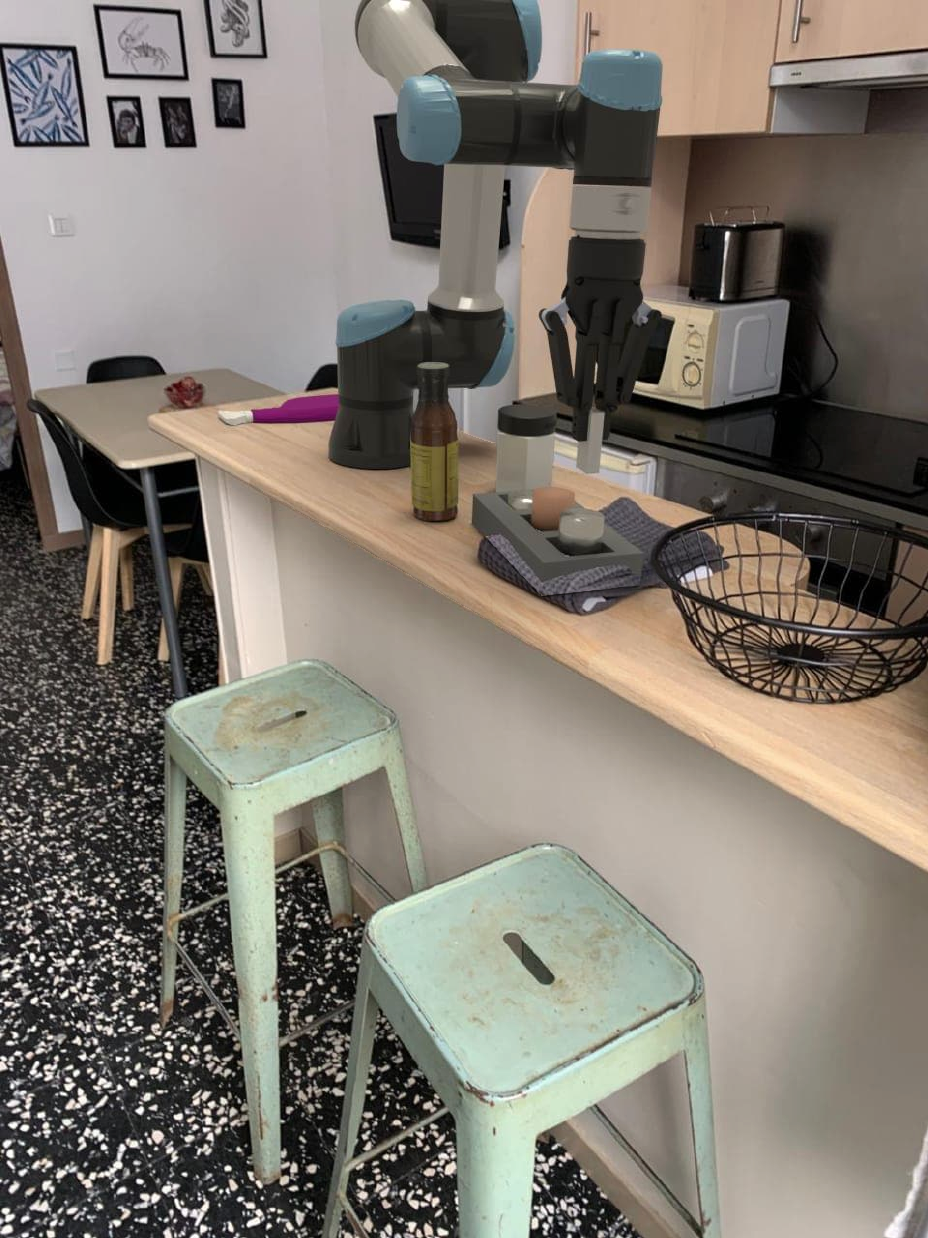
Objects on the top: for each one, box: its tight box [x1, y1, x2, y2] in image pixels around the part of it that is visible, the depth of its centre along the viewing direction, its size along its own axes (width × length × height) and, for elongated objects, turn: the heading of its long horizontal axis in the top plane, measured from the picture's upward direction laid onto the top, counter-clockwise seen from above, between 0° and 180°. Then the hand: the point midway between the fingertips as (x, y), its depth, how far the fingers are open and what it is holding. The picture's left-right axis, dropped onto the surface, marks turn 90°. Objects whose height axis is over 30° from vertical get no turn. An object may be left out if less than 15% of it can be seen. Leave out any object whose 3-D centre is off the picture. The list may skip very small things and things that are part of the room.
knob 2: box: [557, 507, 606, 556], centre depth 105 cm, size 5×5×4 cm
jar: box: [494, 403, 558, 492], centre depth 132 cm, size 9×8×12 cm
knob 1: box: [508, 491, 533, 510], centre depth 120 cm, size 5×5×4 cm
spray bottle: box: [217, 393, 338, 427], centre depth 170 cm, size 3×11×24 cm
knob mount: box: [471, 489, 644, 583], centre depth 113 cm, size 24×12×4 cm, turn 18°
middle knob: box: [531, 486, 576, 531], centre depth 112 cm, size 5×5×4 cm
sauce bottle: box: [410, 362, 459, 522], centre depth 120 cm, size 7×6×20 cm
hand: (587, 469), depth 101 cm, fingers closed
